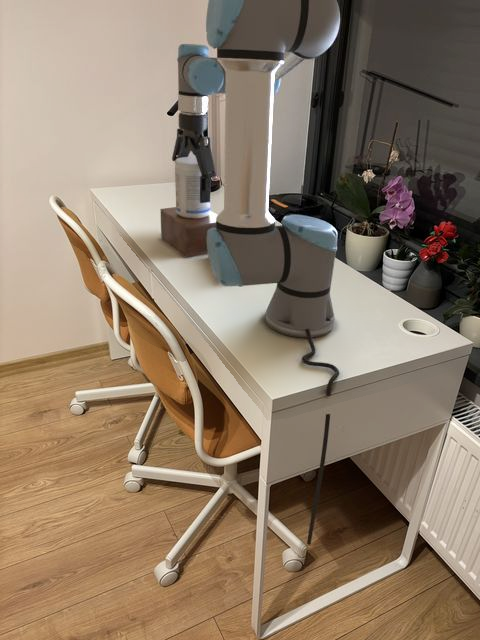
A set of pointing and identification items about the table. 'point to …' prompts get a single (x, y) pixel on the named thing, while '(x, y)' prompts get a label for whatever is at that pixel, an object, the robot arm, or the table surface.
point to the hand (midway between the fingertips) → (193, 195)
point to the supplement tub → (189, 189)
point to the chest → (184, 237)
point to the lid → (190, 219)
